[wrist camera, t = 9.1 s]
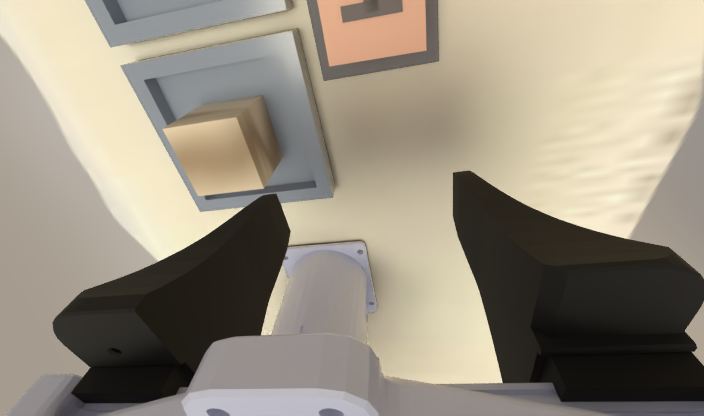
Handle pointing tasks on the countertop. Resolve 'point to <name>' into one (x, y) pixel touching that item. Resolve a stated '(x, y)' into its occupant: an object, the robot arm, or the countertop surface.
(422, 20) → the letter cube
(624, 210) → the countertop surface
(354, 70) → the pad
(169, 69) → the dish
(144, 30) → the dish
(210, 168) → the plain cube
